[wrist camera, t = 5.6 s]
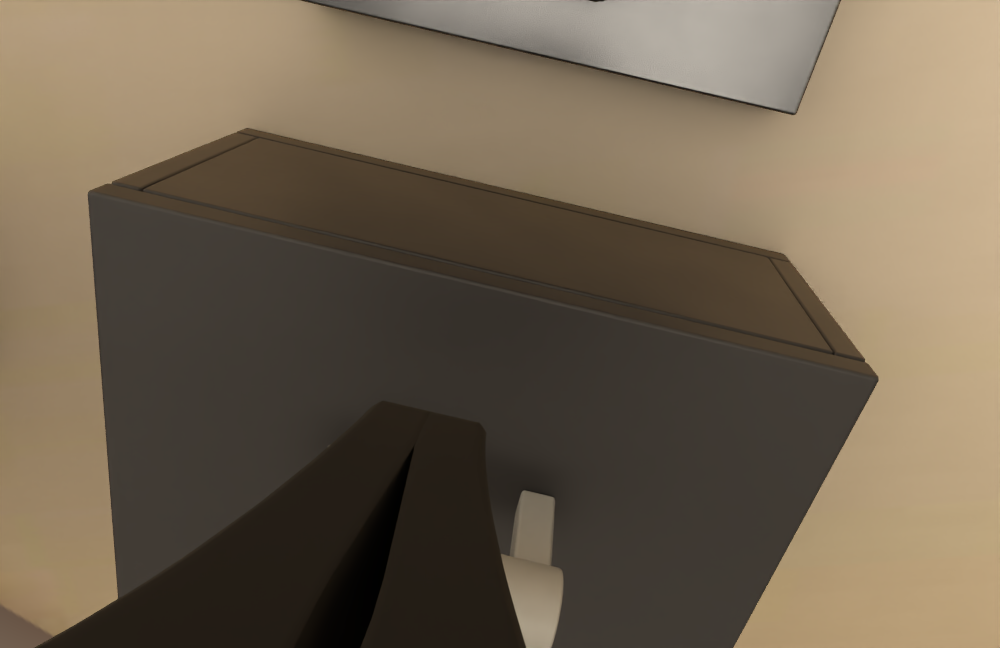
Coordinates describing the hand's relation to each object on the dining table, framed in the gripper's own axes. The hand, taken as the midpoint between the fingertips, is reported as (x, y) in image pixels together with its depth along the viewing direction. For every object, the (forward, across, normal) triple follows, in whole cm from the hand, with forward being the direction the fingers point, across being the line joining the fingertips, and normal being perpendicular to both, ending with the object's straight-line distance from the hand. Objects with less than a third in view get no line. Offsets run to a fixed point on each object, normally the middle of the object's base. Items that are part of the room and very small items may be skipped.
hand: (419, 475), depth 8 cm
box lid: (+5, 0, +5) cm, 7 cm away
